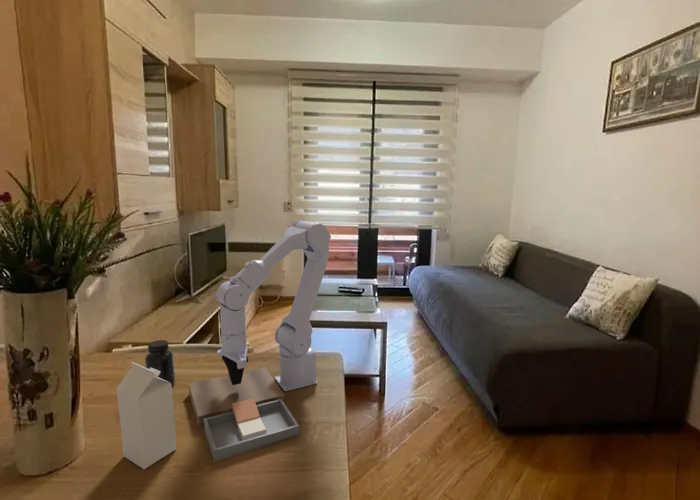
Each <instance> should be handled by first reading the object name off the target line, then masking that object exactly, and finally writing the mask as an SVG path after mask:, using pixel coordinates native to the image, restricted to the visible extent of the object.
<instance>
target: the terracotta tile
mask: <svg viewBox="0 0 700 500" xmlns="http://www.w3.org/2000/svg"><path fill="white" fill-rule="evenodd" d="M232 410H233V413H234V417H235V421H236V425H237V423H239V422H243V421H247V420H251V419H254V418H258V417H260V415H259V412H258V409H257V406H256V403H255V400H254V398H252V399H248V400H244V401H240V402H236V403H232Z"/></svg>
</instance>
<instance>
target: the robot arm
mask: <svg viewBox="0 0 700 500" xmlns="http://www.w3.org/2000/svg"><path fill="white" fill-rule="evenodd" d="M331 238H332V235H331V234H330V232H329V230H328V228H327V227H326V226H325V225H324V224H322V223H316V222H310V221H307V220H304V219H300V220H296V221H295V222H293V224H291V225H290V226H289V227H288V228H287V229H286V231H285V232H284V234H283V235H282V236H281V237H280V239H278V240H277V242H276V243H274V245H273V246H272V247H271V248H270V249H269V250H268V251H266V252H265V254H264V255H263V256H261V258H260V259H253V260H251V261H246V262H245V263H244V264H243V266H244V267H243V268H242V269H241V270H240V271H239V272H238V273H236V275H234V276H231V277H230V278H229V281H225V282H223V283H221V284H220V285H219V287H217V290H216V292H215V294H214V297H215V300H216V301H217V302H218V303H219V311H220V315H219V316H220V317H219V318H220V332H221V333H220V335H221V349H218V350H217V352H216V355H218V356H220V357H221V359H222V360H223V362H224V364H225V366H226V369H227V373H228V375H229V377H230V380H231V383H232V385H237V384H241V381H242V377H243V372H245V371H244V370H245V369H246V368H248V367H247V366H248V364H247V363H248V362H249V357H248V356H247V355H248V345H247V328H246V310H245V309H246V306H247V305H248V303H249V299H250V296H251V295H252V293H254V292H255V291H256V290H257V289H258V288H259V287H260V286H261V285H262V284H263V283H264V282H265V281H266V280H267V279H268V278H269V277H270V271H271V269H272V268H273V267H275V266H276V265H277V264H279V262H281V261H283V259H285V257H286V256H288V255H289V254H290V253H291V252H293V251H294V250H303V253H304V254H305V256H306V262H305V265H304V268H303V271H302V275H301V277H300V281H299V284H298V287H297V290H296V294H295V296H294V299H293V301H292V305H291V309H290V312H289V313H288V314H287V315H285V316H284V317H283V318H282V321H281V323H280V325H279V326H278V327H277V328H276V330H275V331H274V332H275V333H274V340H275V342H276V344H278V346H279V350H278V351H279V375H277V376H274V378H275V379H274V380H275V381H276V383H277V384H278V386H279V387H280V389H281V388H282V389H281V390H283V391H284V392H288V391H292V390H296V389H300V388H304V387H308V386H312V385H317V384H318V381H317V357H316V354H315V351H314V349H313V347H311V346H312V333H313V327H312V324H311V321H310V319H311V316H312V312H313V310H314V306H315V304H316V301H317V296H318V294H319V290H320V287H321V284H322V282H323V279H324V274H325V272H326V268H327V265H328V263H329V259H330V248H329V247H330V246H329V245H330V241H331Z"/></svg>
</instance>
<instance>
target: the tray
mask: <svg viewBox="0 0 700 500" xmlns="http://www.w3.org/2000/svg"><path fill="white" fill-rule="evenodd" d="M256 406H257V409H258V412H259V415H260V418H261V420H262V422H263V424H264V426H265V428H266V434H263V435H260V436H257V437H253V438H250V439H246V440H243V441H242V438H241V436H240V434H239V431H238V426H237V425H236V421H235V417H234V413H233V411H232V412H228V413H224V414H220V415H216V416H212V417H209V418H205V419H204V427H203V429H204V433H205V437H206V440H207V443H208V445H209V446H208V447H209V450H210V452H211V456H212V459H213V463H216V462H220V461H222V460H226V459H229V458H232V457H236V456H238V455H243V454H246V453H249V452H252V451H255V450H258V449H262V448H266V447H268V446H271V445H275V444H278V443H281V442H285V441H289V440H291V439H295V438H298V437H300V434H301V433H300V424H299V423H298V422H297V420H296V418H295V417H294V415H293V414H292V412H291V411H290V410H289V408H288V406H287V405H286V404H284V402H283V401H282V399H279V400H275V401H271V402H267V403H263V404H259V405H256Z"/></svg>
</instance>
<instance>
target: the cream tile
mask: <svg viewBox="0 0 700 500" xmlns="http://www.w3.org/2000/svg"><path fill="white" fill-rule="evenodd" d="M237 426H238V431H239V434H240V436H241V438H242V441H243V440H246V439H250V438H253V437H257V436H260V435H263V434H266V428H265V426H264V424H263V422H262V420H261V418H260V417H258V418H254V419H251V420H247V421H243V422H239V423H237Z"/></svg>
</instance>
